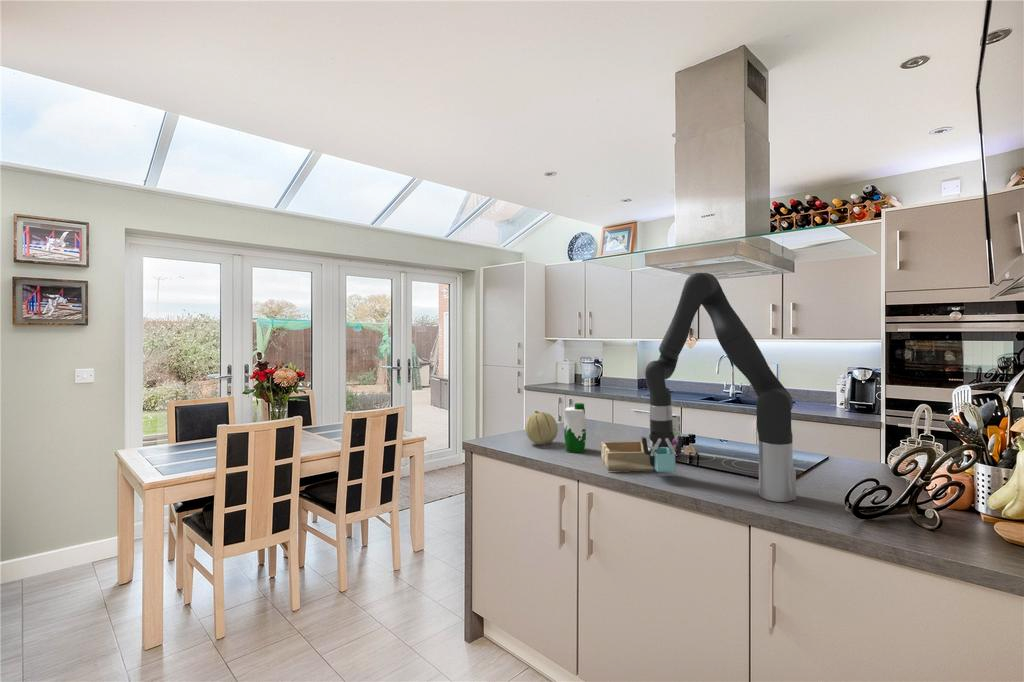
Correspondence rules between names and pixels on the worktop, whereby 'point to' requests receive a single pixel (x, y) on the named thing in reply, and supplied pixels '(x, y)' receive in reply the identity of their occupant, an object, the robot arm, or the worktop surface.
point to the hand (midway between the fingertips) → (662, 465)
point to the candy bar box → (675, 429)
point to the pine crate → (625, 456)
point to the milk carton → (575, 428)
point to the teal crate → (664, 460)
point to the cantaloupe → (541, 428)
